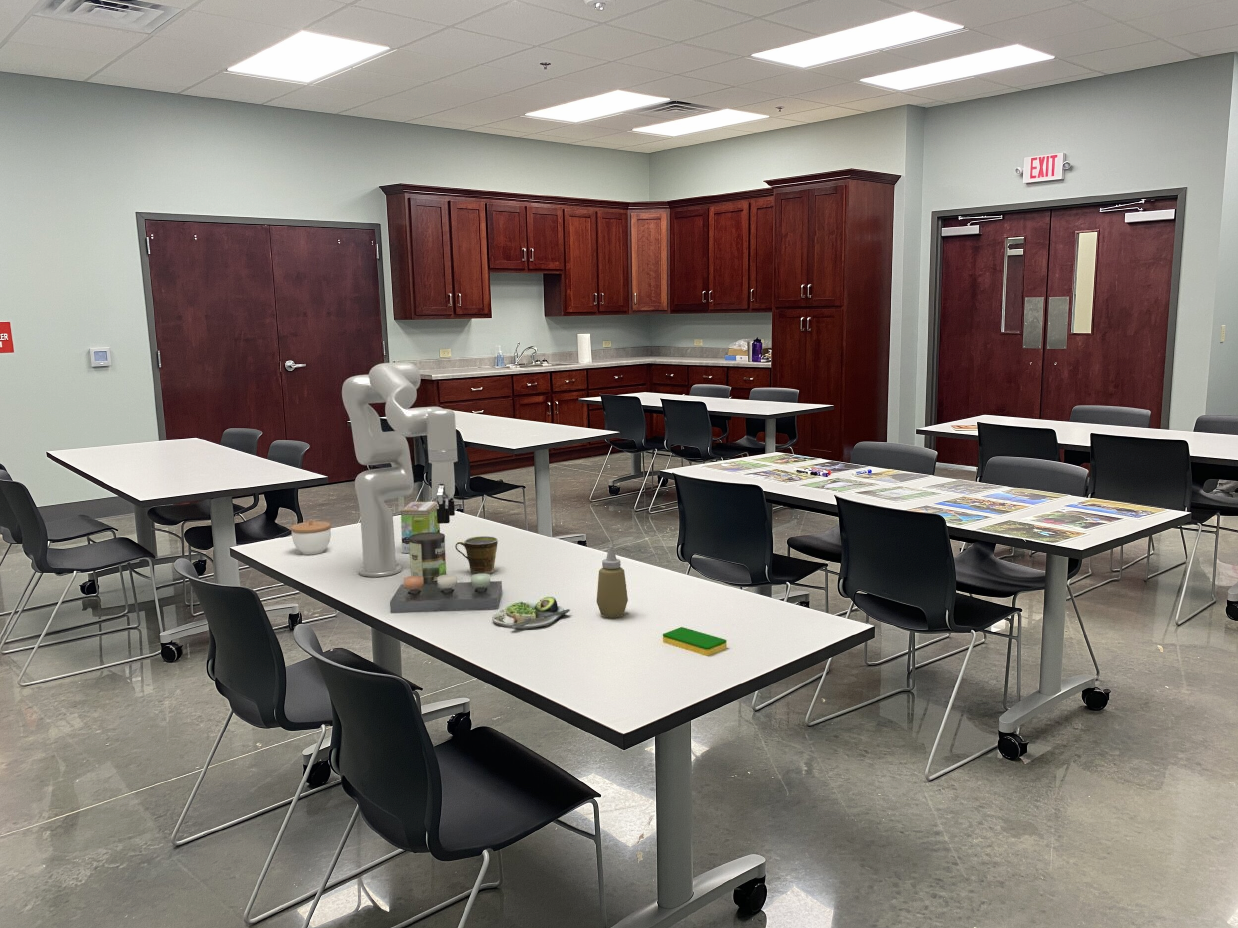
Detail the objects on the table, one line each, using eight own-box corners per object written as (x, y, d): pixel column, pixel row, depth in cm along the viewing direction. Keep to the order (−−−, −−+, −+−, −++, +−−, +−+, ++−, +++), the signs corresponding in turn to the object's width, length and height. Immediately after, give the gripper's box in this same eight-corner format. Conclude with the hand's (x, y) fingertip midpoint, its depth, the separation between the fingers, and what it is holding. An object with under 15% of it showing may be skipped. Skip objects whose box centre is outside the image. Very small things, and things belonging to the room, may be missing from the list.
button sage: (472, 592, 254) (471, 573, 254) (491, 592, 255) (490, 573, 254) (470, 598, 249) (469, 578, 248) (490, 597, 250) (489, 578, 249)
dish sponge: (707, 657, 208) (707, 647, 208) (661, 643, 218) (661, 633, 217) (727, 649, 213) (727, 639, 213) (681, 635, 223) (681, 626, 222)
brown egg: (406, 594, 254) (405, 575, 253) (425, 594, 254) (424, 575, 253) (403, 600, 248) (402, 581, 248) (422, 599, 249) (421, 580, 248)
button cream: (439, 593, 254) (438, 574, 253) (458, 593, 254) (457, 574, 253) (436, 599, 249) (435, 580, 248) (456, 598, 249) (455, 579, 248)
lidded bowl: (317, 545, 318) (314, 514, 317) (340, 550, 311) (338, 518, 309) (284, 553, 308) (282, 521, 306) (308, 558, 301) (305, 525, 299)
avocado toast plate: (542, 637, 223) (542, 619, 222) (477, 629, 230) (477, 611, 229) (575, 613, 241) (575, 596, 240) (514, 606, 247) (514, 590, 247)
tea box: (432, 553, 305) (429, 509, 302) (401, 553, 305) (399, 509, 303) (441, 542, 320) (439, 500, 317) (412, 542, 320) (409, 500, 317)
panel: (401, 594, 259) (401, 584, 259) (502, 591, 260) (501, 581, 260) (390, 612, 243) (389, 601, 243) (497, 609, 245) (497, 598, 244)
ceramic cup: (502, 567, 285) (501, 536, 283) (494, 576, 275) (493, 544, 273) (461, 567, 286) (459, 536, 285) (452, 576, 276) (450, 544, 275)
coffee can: (452, 578, 274) (450, 532, 272) (439, 588, 264) (436, 540, 262) (420, 577, 276) (417, 531, 274) (405, 587, 266) (402, 539, 264)
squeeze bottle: (605, 621, 233) (603, 552, 230) (591, 612, 240) (589, 545, 237) (633, 616, 236) (632, 547, 233) (619, 607, 243) (617, 541, 241)
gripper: (433, 452, 254) (437, 513, 256) (423, 461, 237) (426, 526, 239) (461, 451, 254) (464, 512, 256) (452, 460, 237) (456, 525, 239)
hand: (446, 519), depth 248 cm, fingers open, 9 cm apart
